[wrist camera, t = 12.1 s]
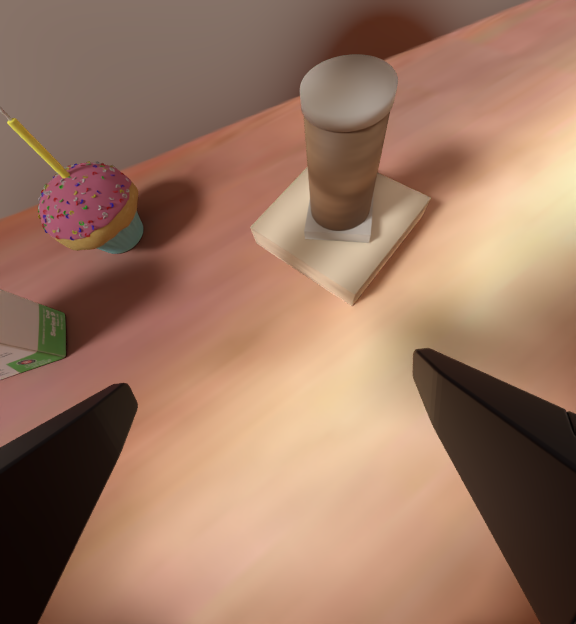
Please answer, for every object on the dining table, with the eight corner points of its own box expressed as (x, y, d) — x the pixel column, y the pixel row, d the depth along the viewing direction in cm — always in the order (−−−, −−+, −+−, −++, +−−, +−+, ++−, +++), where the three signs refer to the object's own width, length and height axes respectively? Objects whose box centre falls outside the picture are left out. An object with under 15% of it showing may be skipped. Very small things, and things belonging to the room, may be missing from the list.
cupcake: (79, 224, 31) (-62, 115, 19) (149, 190, 31) (51, 64, 20) (94, 284, 28) (-63, 196, 16) (172, 246, 28) (70, 134, 17)
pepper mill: (372, 192, 24) (401, 50, 15) (368, 242, 22) (398, 117, 13) (313, 190, 25) (305, 56, 16) (305, 238, 23) (290, 118, 14)
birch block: (419, 221, 26) (431, 197, 23) (351, 308, 24) (354, 294, 21) (325, 173, 29) (325, 148, 27) (257, 246, 27) (250, 227, 24)
